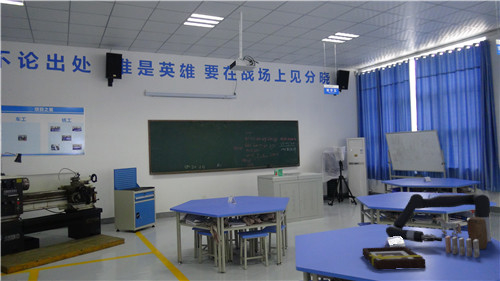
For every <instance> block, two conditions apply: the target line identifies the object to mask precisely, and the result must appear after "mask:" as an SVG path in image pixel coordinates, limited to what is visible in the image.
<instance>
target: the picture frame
mask: <svg viewBox="0 0 500 281" xmlns="http://www.w3.org/2000/svg"><path fill="white" fill-rule="evenodd" d="M363 255H364V256H365V257H366V258H367V259H368V260H369V261H370V263H371V264H372V265H373V266H374V267H375V268H376V269H394V270H397V269H396V268H419V269H426V268H427V267H426V259H425V258H424V257H423V255H420V254H417V253H416V252H414V250H411V249H410V248H409V247H407V246H383V247H362V256H363ZM364 256H363V257H364ZM365 257H364V258H365ZM370 263H369V264H370ZM371 264H370V265H371ZM372 265H371V266H372ZM373 266H372V267H373ZM374 267H373V268H374ZM375 268H374V269H375ZM376 269H375V270H376Z"/></svg>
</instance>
